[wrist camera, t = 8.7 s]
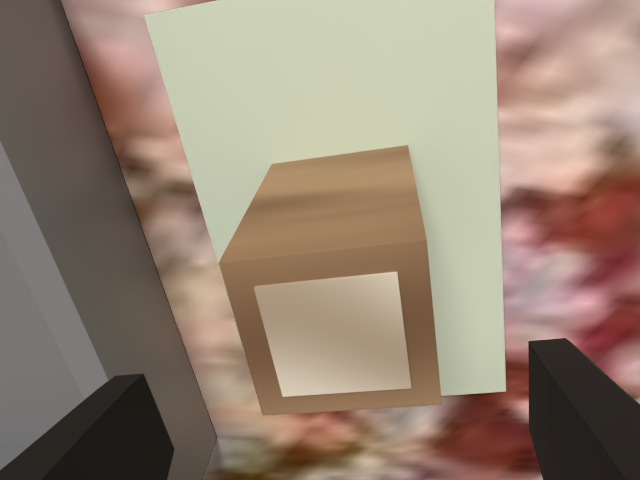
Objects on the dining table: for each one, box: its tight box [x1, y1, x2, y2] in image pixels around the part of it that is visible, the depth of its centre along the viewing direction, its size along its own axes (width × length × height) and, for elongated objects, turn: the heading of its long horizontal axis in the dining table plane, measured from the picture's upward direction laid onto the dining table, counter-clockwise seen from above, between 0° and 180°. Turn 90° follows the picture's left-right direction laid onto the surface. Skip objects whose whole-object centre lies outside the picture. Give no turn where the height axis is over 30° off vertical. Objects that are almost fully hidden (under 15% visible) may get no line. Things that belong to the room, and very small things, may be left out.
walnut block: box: [219, 145, 442, 415], centre depth 13 cm, size 4×4×6 cm
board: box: [144, 0, 506, 396], centre depth 17 cm, size 14×9×1 cm, turn 10°
